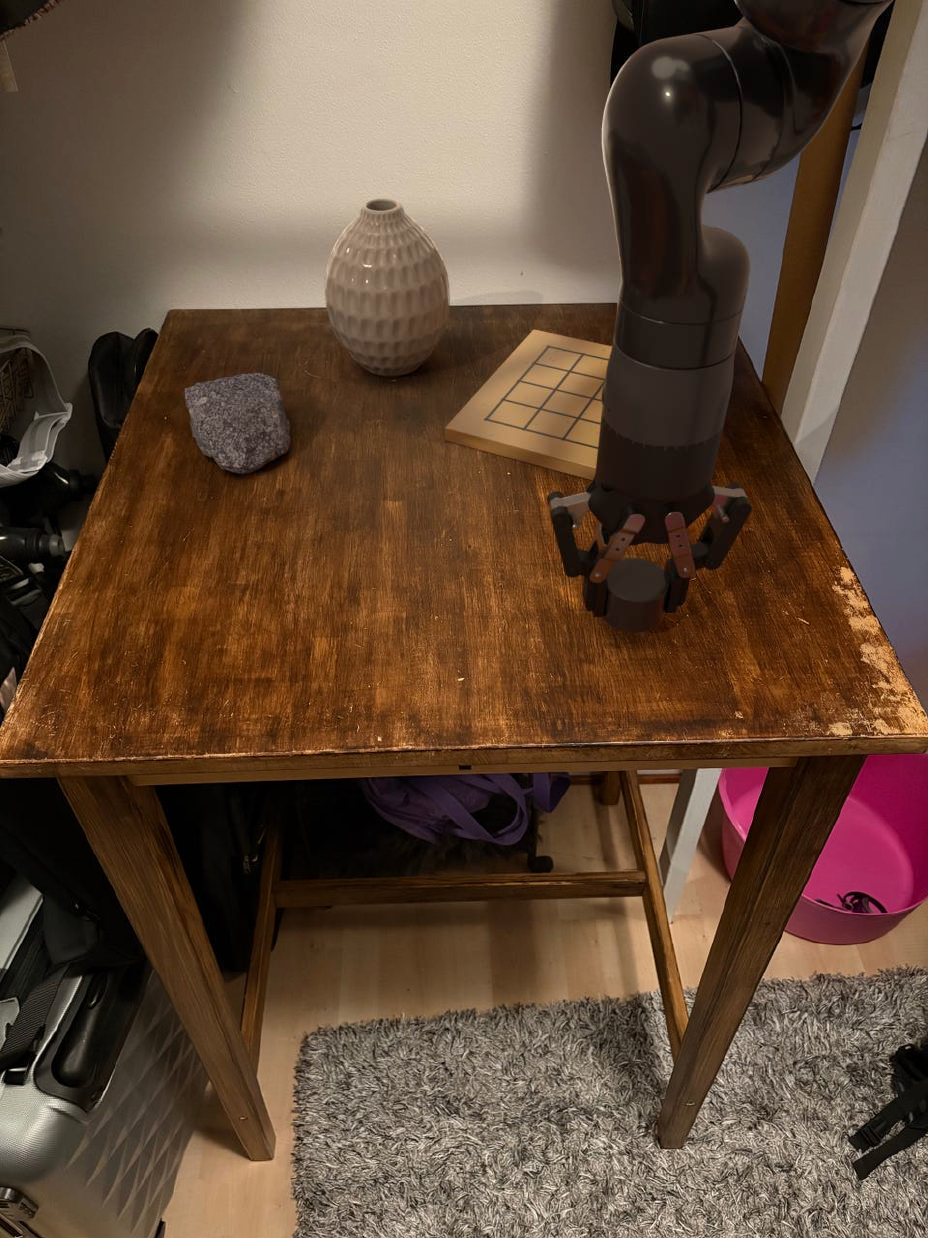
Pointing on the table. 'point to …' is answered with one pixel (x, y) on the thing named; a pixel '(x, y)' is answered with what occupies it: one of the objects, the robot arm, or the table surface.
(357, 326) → the vase
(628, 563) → the dark grey puck
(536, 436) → the board
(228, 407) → the rock
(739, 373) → the table surface
